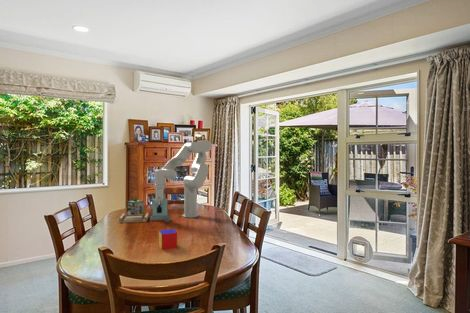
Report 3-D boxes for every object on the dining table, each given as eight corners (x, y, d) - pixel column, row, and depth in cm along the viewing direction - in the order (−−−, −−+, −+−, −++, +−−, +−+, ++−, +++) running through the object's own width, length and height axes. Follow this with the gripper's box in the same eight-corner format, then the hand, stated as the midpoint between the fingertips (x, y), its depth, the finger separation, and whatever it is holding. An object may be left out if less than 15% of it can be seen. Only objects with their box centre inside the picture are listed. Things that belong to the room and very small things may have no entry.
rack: (123, 219, 229) (123, 213, 229) (148, 218, 232) (148, 212, 232) (119, 224, 213) (119, 218, 213) (146, 223, 217) (146, 217, 217)
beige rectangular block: (125, 220, 220) (125, 216, 220) (142, 220, 222) (142, 215, 222) (123, 222, 214) (123, 217, 214) (142, 221, 217) (142, 217, 217)
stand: (150, 220, 227) (150, 214, 227) (170, 219, 229) (170, 214, 229) (149, 222, 219) (149, 217, 219) (170, 222, 222) (170, 216, 222)
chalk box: (143, 215, 244) (144, 196, 243) (134, 217, 236) (134, 197, 236) (135, 214, 249) (136, 195, 248) (126, 216, 241) (126, 196, 241)
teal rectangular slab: (152, 219, 224) (152, 198, 224) (167, 219, 226) (167, 198, 225) (152, 220, 222) (152, 199, 222) (167, 219, 224) (167, 199, 223)
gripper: (155, 185, 231) (154, 210, 231) (153, 188, 215) (153, 214, 215) (165, 185, 232) (165, 210, 232) (164, 188, 216) (164, 214, 217)
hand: (159, 212), depth 224 cm, fingers closed on teal rectangular slab, 2 cm apart
